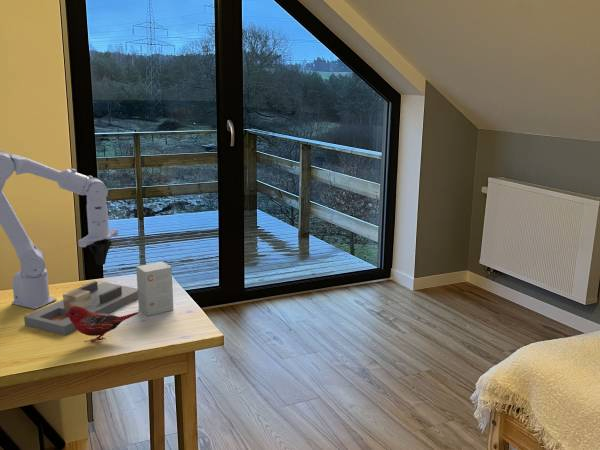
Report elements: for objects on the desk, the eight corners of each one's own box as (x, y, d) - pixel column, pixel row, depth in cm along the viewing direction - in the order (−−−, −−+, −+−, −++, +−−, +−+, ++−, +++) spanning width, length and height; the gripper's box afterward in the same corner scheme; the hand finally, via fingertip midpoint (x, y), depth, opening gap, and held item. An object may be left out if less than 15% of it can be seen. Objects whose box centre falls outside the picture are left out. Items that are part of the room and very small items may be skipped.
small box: (164, 303, 171) (162, 260, 168) (174, 310, 166) (172, 266, 163) (137, 309, 166) (135, 265, 163) (146, 316, 161) (144, 271, 158)
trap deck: (24, 325, 154) (23, 307, 153) (104, 289, 181) (103, 274, 180) (65, 335, 149) (63, 317, 148) (141, 297, 175) (140, 281, 174)
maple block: (63, 308, 160) (62, 294, 159) (77, 301, 164) (76, 288, 163) (77, 311, 158) (76, 297, 157) (91, 304, 162) (90, 291, 161)
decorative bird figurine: (66, 343, 144) (63, 305, 142) (139, 332, 151) (137, 296, 149) (66, 348, 142) (63, 309, 139) (141, 336, 149) (139, 300, 146)
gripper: (90, 227, 164) (93, 273, 167) (125, 216, 177) (127, 259, 180) (71, 224, 166) (75, 269, 170) (106, 214, 179) (109, 256, 183)
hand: (100, 264), depth 175 cm, fingers closed
